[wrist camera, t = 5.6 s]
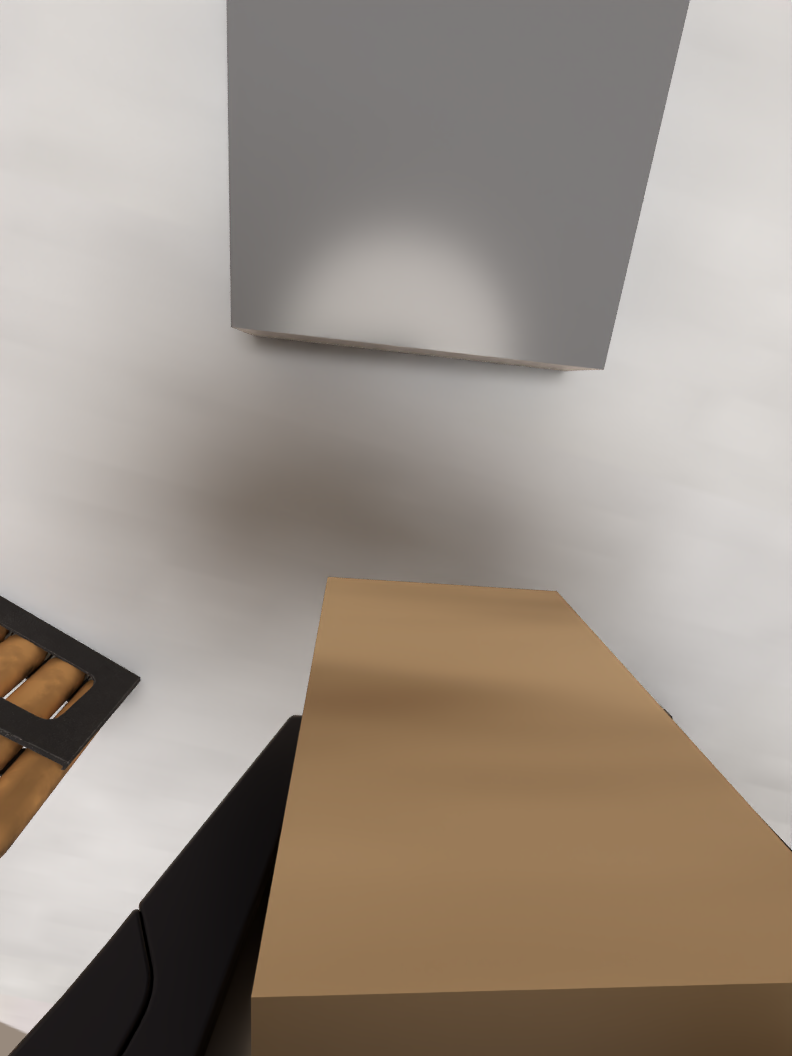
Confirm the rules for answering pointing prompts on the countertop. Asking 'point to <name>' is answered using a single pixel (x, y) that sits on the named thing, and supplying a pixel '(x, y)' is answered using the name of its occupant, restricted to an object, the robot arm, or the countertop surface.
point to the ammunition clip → (47, 710)
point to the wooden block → (509, 850)
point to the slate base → (442, 170)
